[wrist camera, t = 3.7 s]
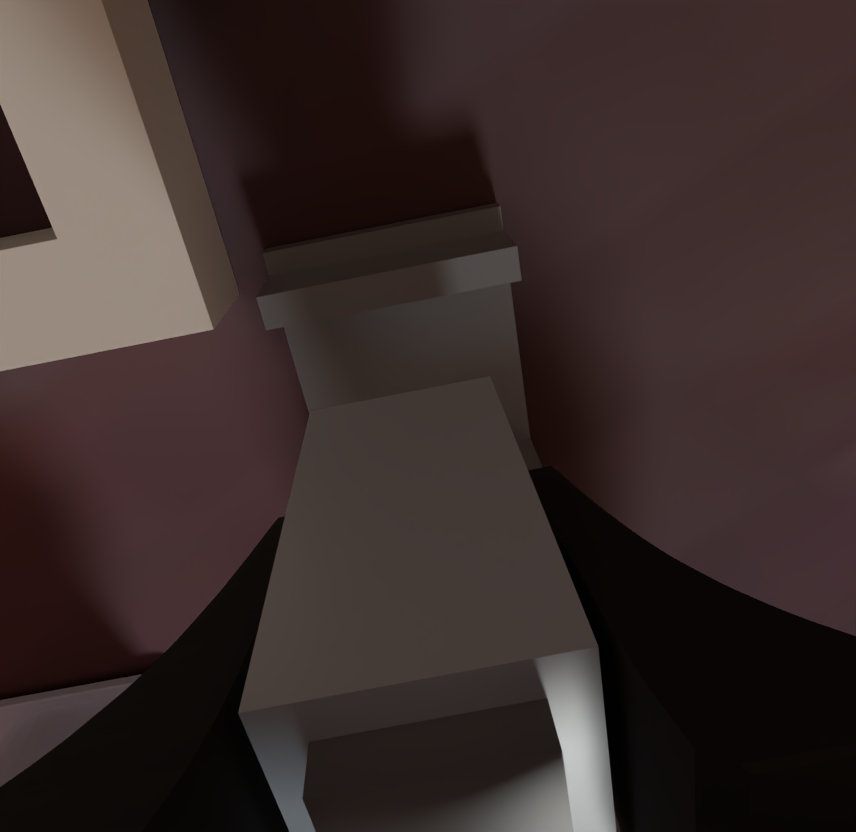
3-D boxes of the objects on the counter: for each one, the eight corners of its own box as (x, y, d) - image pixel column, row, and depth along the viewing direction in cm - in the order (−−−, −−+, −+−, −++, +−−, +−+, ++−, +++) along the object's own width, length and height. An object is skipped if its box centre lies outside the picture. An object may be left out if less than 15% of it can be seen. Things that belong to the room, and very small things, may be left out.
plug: (513, 526, 14) (637, 925, 7) (352, 556, 14) (323, 980, 7) (490, 376, 13) (619, 697, 6) (310, 411, 13) (225, 768, 6)
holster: (531, 469, 20) (550, 515, 18) (340, 505, 21) (334, 555, 18) (496, 202, 17) (514, 218, 15) (266, 248, 17) (248, 271, 15)
